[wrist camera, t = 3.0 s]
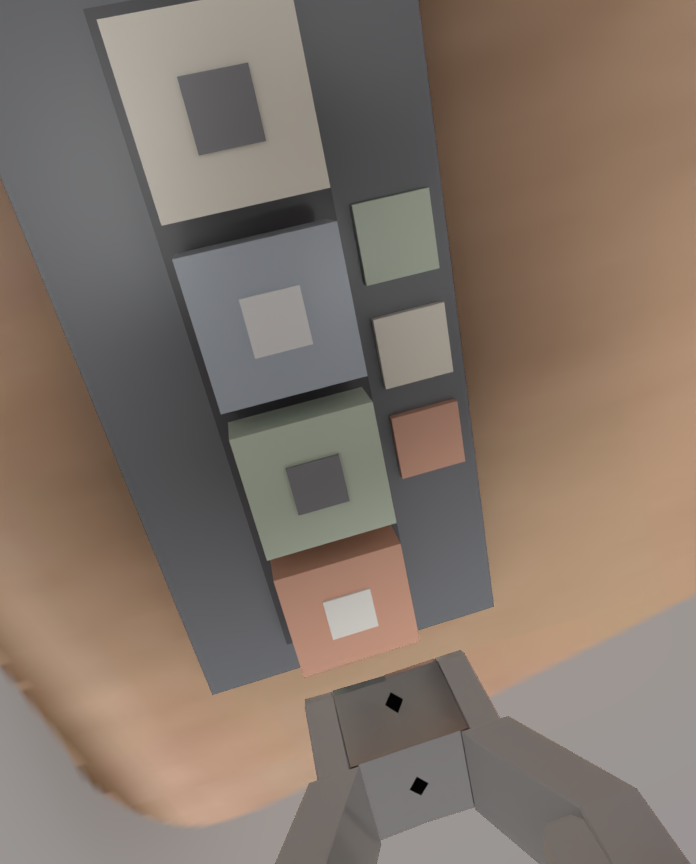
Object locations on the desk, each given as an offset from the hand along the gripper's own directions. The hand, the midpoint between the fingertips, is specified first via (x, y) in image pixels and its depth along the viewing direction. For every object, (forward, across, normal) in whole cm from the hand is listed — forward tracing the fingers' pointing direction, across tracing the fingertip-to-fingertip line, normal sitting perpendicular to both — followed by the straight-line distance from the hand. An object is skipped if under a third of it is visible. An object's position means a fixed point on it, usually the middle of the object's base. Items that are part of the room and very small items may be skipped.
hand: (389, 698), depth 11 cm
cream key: (+9, 0, -11) cm, 14 cm away
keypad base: (+12, 0, -3) cm, 12 cm away
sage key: (+9, 0, -1) cm, 9 cm away
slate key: (+9, 0, -6) cm, 11 cm away
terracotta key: (+9, 0, +4) cm, 10 cm away
